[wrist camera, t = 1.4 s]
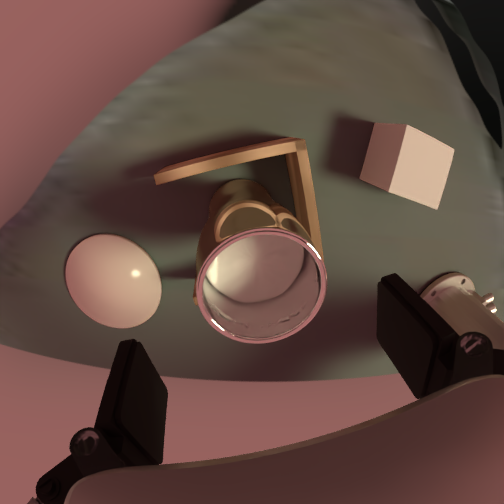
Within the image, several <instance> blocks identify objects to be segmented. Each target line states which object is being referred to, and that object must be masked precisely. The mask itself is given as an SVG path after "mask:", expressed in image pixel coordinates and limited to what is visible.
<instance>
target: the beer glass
mask: <svg viewBox="0 0 504 504" xmlns="http://www.w3.org/2000/svg"><path fill="white" fill-rule="evenodd" d="M326 291H327V272H326V267H325V264H324V262H323V259H322V257H321V256H320V254H319V253H318V251H317V250H316V248H315V246H314V244H313V242H312V240H311V238H310V237H309V235H308V233H307V232H306V230H305V229H304V227H303V226H302V224H301V223H300V222H299V221H298V219H297V218H296V217H295V216H294V215H293V214H292V213H291V212H290V211H289V210H288V209H286V208H285V207H284V206H282V205H281V204H279V203H277V202H275V201H273V200H272V198H271V196H270V194H269V192H268V191H267V190H266V189H265V188H264V187H263V186H262V185H260V184H259V183H257V182H255V181H252V180H248V179H237V180H232V181H229V182H227V183H225V184H224V185H222V186H221V187H220V188H219V189H218V190H217V191H216V192H215V193H214V195H213V197H212V199H211V201H210V205H209V218H208V220H207V222H206V224H205V225H204V227H203V229H202V232H201V235H200V238H199V242H198V246H197V253H196V297H197V302H198V305H199V308H200V310H201V312H202V314H203V316H204V318H205V319H206V320H207V322H208V323H209V324H210V325H211V326H212V327H213V328H214V329H215V330H217V331H218V332H219V333H221V334H223V335H224V336H226V337H228V338H231V339H233V340H236V341H240V342H245V343H255V344H259V343H269V342H274V341H278V340H281V339H284V338H287V337H289V336H291V335H293V334H295V333H296V332H298V331H299V330H301V329H302V328H303V327H305V326H306V325H307V324H308V323H309V322H310V321H311V320H312V319H313V318H314V317H315V315H316V314H317V312H318V311H319V309H320V308H321V306H322V304H323V301H324V298H325V295H326Z"/></svg>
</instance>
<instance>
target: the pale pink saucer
mask: <svg viewBox="0 0 504 504" xmlns="http://www.w3.org/2000/svg"><path fill="white" fill-rule="evenodd" d="M66 283H67V287H68V290H69V292H70V295H71V297H72V298H73V300H74V302H75V303H76V304H77V306H78V307H79V308H80V309H81V310H82V311H83V312H84V313H85V314H86V315H87V316H89V317H90V318H91V319H93V320H95V321H96V322H98V323H100V324H103V325H106V326H109V327H113V328H130V327H134V326H137V325H140V324H142V323H144V322H145V321H147V320H148V319H149V318H150V317H151V316H152V315H153V314H154V312H155V311H156V309H157V307H158V305H159V302H160V298H161V293H162V282H161V277H160V274H159V271H158V269H157V266H156V264H155V263H154V261H153V259H152V258H151V257H150V256H149V254H148V253H147V252H146V251H145V250H144V249H143V248H142V247H140V246H139V245H138V244H136V243H135V242H133V241H132V240H130V239H127V238H125V237H122V236H119V235H115V234H97V235H93V236H91V237H88V238H86V239H85V240H83V241H82V242H81V243H79V244H78V245H77V246H76V247H75V248H74V250H73V251H72V252H71V254H70V256H69V258H68V261H67V265H66Z"/></svg>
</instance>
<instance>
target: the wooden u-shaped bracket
mask: <svg viewBox="0 0 504 504" xmlns="http://www.w3.org/2000/svg"><path fill="white" fill-rule="evenodd" d="M281 154H285V158H286V163H287V168H288V173H289V179H290V184H291V189H292V195H293V200H294V206H295V211H296V217H297V219H298V221H299V222H300V223H301V224H302V226H303V227H304V229H305V230H306V232H307V233H308V235H309V237H310V238H311V240H312V242H313V244H314V246H315V248H316V250H317V251H318V253H319V254H320V256H321V257H322V259H323V262H324V258H323V250H322V243H321V235H320V228H319V221H318V214H317V207H316V201H315V195H314V188H313V182H312V176H311V170H310V165H309V159H308V154H307V148H306V143H305V139H299V138H292V137H288V138H283V139H278V140H273V141H268V142H263V143H258V144H253V145H249V146H244V147H240V148H235V149H231V150H227V151H223V152H219V153H215V154H211V155H207V156H203V157H199V158H195V159H191V160H188V161H184V162H180V163H177V164H173V165H170V166H166V167H164V168H163V169H161V170H160V171H159V172H157V173H156V174H155V175H154V178H155V182H156V185H159V184H162V183H166V182H169V181H173V180H176V179H180V178H184V177H187V176H191V175H195V174H199V173H203V172H206V171H210V170H214V169H218V168H222V167H227V166H231V165H235V164H239V163H244V162H248V161H252V160H257V159H262V158H266V157H271V156H276V155H281ZM193 299H194V302H195V305H198V302H197V297H196V278H195V286H194V294H193Z"/></svg>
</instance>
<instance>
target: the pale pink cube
mask: <svg viewBox="0 0 504 504" xmlns="http://www.w3.org/2000/svg"><path fill="white" fill-rule="evenodd" d="M453 154H454V149H453V148H451V147H449V146H447V145H446V144H444V143H442V142H440V141H438V140H436V139H435V138H433V137H431V136H429V135H427V134H425V133H423V132H421V131H419V130H417V129H415V128H413V127H411V126H409V125H406V124H389V123H374V127H373V131H372V135H371V138H370V142H369V146H368V150H367V153H366V157H365V160H364V164H363V168H362V171H361V174H360V178H359V179H361V180H363V181H365V182H367V183H370V184H372V185H374V186H377V187H379V188H381V189H383V190H385V191H388V192H390V193H393V194H396V195H399V196H402V197H405V198H407V199H410V200H413V201H416V202H418V203H421V204H424V205H426V206H429V207H431V208H434V209H438V206H439V203H440V200H441V196H442V193H443V190H444V187H445V183H446V180H447V176H448V173H449V169H450V165H451V162H452V158H453Z"/></svg>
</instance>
